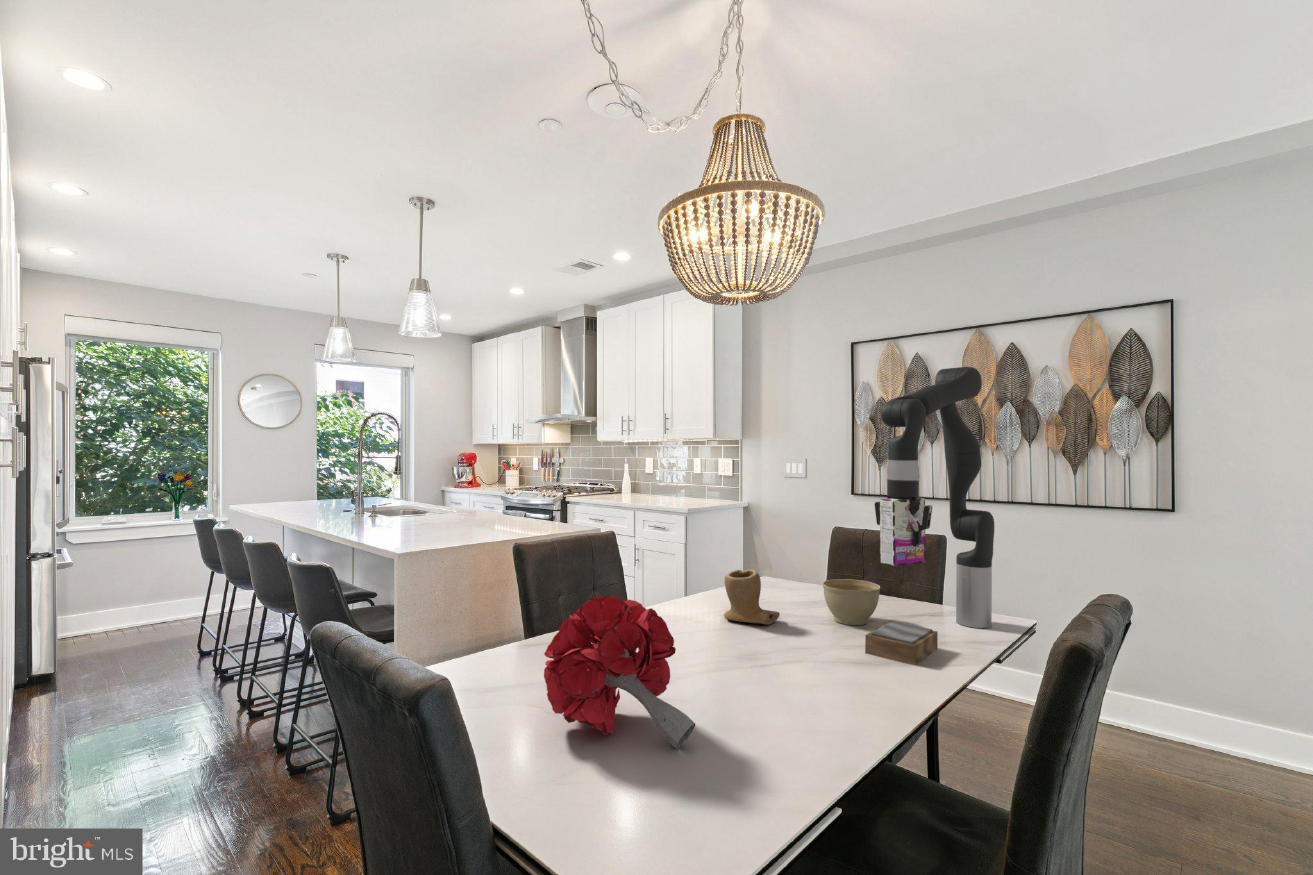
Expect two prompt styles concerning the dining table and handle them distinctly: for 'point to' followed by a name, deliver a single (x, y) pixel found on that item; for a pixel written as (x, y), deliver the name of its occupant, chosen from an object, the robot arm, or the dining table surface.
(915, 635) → the stand
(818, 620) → the dining table surface
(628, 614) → the bouquet
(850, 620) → the planter bowl
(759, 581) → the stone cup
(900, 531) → the candy bar box
